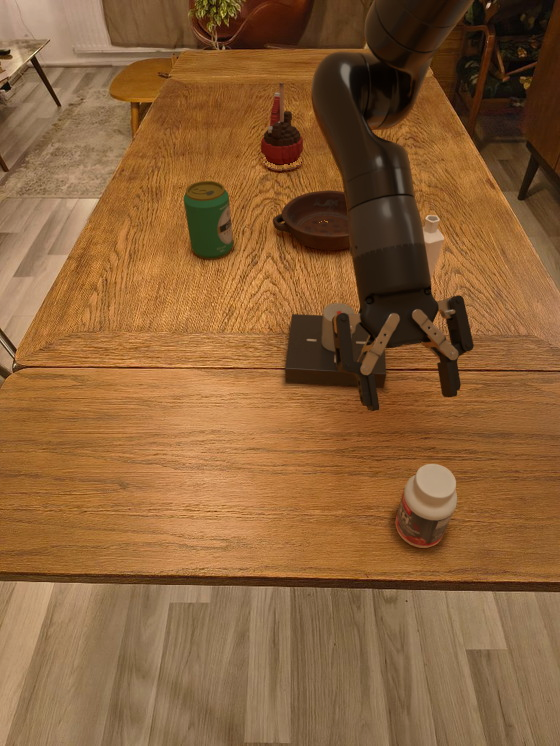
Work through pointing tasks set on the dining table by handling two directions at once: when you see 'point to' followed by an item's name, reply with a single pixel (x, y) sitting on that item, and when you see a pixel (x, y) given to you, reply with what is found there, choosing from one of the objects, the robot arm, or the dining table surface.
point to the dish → (316, 220)
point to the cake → (281, 136)
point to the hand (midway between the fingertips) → (412, 403)
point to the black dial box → (322, 355)
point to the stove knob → (327, 328)
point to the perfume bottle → (432, 241)
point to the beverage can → (208, 219)
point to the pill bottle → (426, 506)
